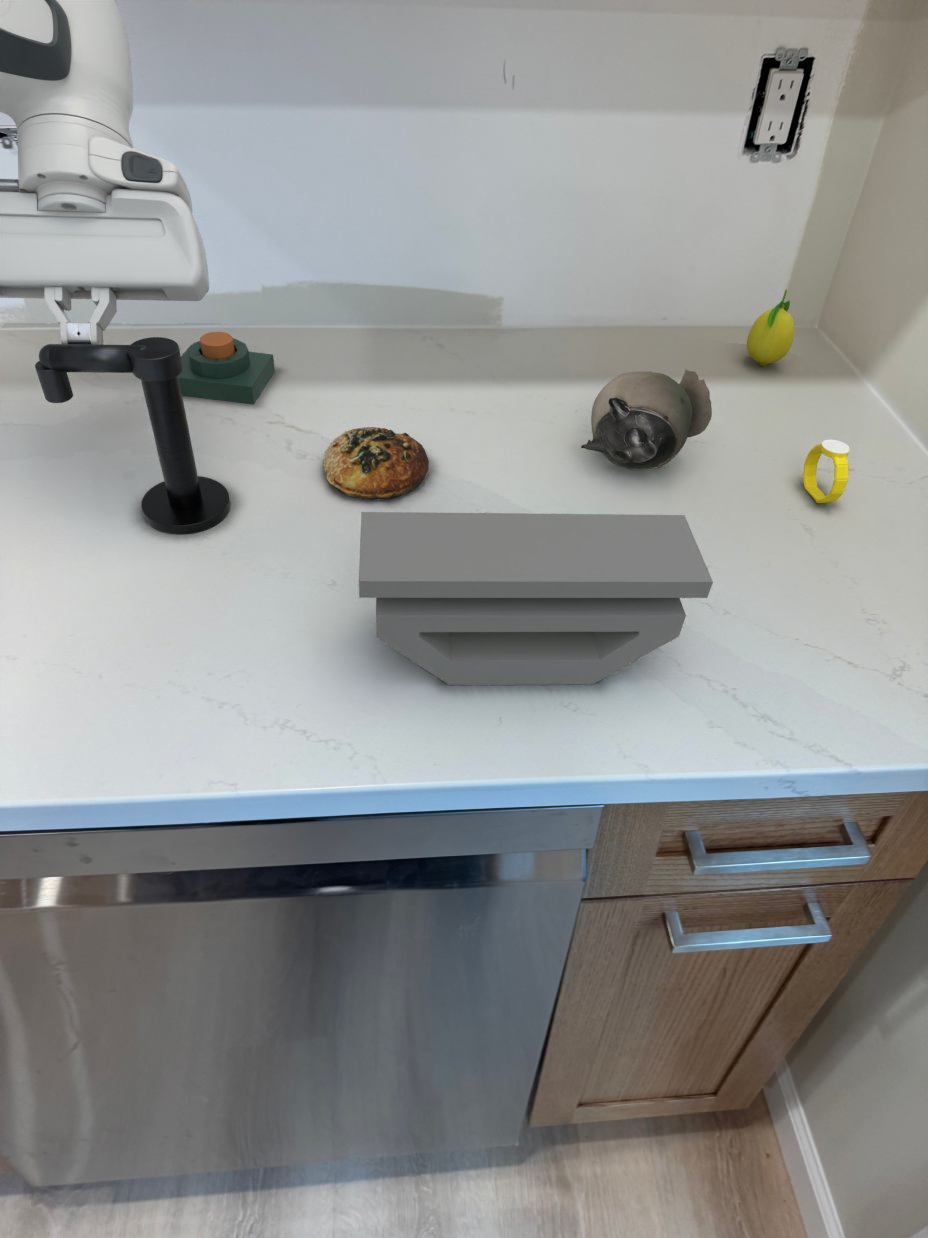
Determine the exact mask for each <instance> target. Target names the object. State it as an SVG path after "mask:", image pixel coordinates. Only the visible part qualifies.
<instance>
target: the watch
mask: <svg viewBox="0 0 928 1238" xmlns="http://www.w3.org/2000/svg"><path fill="white" fill-rule="evenodd" d="M850 451H851V449H850V446H849V445H848V444H847V443H845V442H843V441H841V440H838V439H824V440H822V442H821V443H820V444H819V443H818V444H816V445H814V446H813V448H811V449H810V451H808V453H807V455H806V458H805V460H804V464H803V469H802V481H803V487H804V489H805V490H806V492H807V493H808V494H809V495H810V496H811V497H812V499H814V501H815V503H817V504H830V503H834V502H836V501H838V500H839V498H840V497H841V496H842V495H843V494H844V492H845V490H846V487H847V484H848V481H849V468H850V467H849V462H848V459H847V457H848V456H849V455H850ZM822 455H824V456H826V457H828V458H830V459H832V461H833V465H834V474H833V477H834V478H833V482H832V485H831V489H830V491H829V492H828V493H827V495H825V493H824V492H823V491H822V490H821V489H820V488H819V486H818V480H817V469H818V463H819V461H820V458H821V457H822Z"/></svg>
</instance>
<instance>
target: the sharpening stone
mask: <svg viewBox="0 0 928 1238" xmlns="http://www.w3.org/2000/svg"><path fill="white" fill-rule="evenodd" d="M360 516H361V517H360V535H359V537H360V538H359V539H360V540H359V566H358V597H359V598H360V599H362V598H363V599H375V637H376V638H377V639H378V640H380V641H381V642H383V643H384V644H386V645H387V646H389V647H390V648H392V649H393V650H395V651H397V652H398V653H399V654H401V655H403V656H404V657H406V658H407V659H409V660H410V661H412V662H413V663H415V664H416V665H417V666H419V667H421V668H422V669H424V670H425V671H427V672H428V673H429V674H431V675H433V676H435V677H436V678H437V679H439V680H441V681H442V682H443V683H445V684H446V685H449V686H454V687H455V686H544V685H546V686H547V685H549V686H553V685H554V686H555V685H595V684H596V683H598V682H600V681H601V680H604V679H605V678H607V677H609V676H610V675H613V674H614V673H616V672H618V671H619V670H622V669H624V668H625V667H626V666H629V665H630V664H632V663H634V662H635V661H638V660H639V659H641V658H642V657H644V656H646V655H648V654H649V653H650V654H651V652H653V651H655V650H657V649H659V648H660V647H662V646H664V645H666V644H668V643H670V642H671V641H673V640H675V639H677V638H679V637H680V635H681V632H682V629H683V626H684V623H685V620H686V617H687V614H686V611H685V609H684V606H683V604H682V600H681V599H707V598H708V597H709V595H710V591H711V589H712V586H713V583H714V581H713V578H712V577H711V573H710V572H709V569H708V567H707V564H706V562H705V560H704V557H703V555H702V553H701V550H700V547H699V546H698V543H697V541H696V538H695V536H694V534H693V531H692V528H691V527H690V525H689V521H688V520H687V517H686V515H685V514H623V513H621V514H620V513H619V514H616V513H615V514H613V513H610V514H609V513H524V512H523V513H519V512H517V513H513V512H512V513H511V512H502V513H501V512H421V511H420V512H418V511H417V512H416V511H415V512H414V511H412V512H411V511H409V512H408V511H405V512H404V511H403V512H402V511H400V512H399V511H361V515H360Z"/></svg>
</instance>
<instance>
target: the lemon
mask: <svg viewBox="0 0 928 1238" xmlns="http://www.w3.org/2000/svg"><path fill="white" fill-rule="evenodd" d="M787 293H788V289H787V288H786V289H784V293H783V296H782V299H781V301H780V302H779V303H777V305H775V306H774V307H772V308H770V309H768V310H766V311H764V312H763V313H761V314H760V315H759V316H758V317H757V318H756V319H755V321H754V322H753V324H752V325H751V328H750V330H749V332H748V335H747V338H746V350H747V354H748V356H749V357H750V358H751V359H752V360H754V361H756V362H757V364H758V365H759V366H761V367H764V366H766V365H767V364H773V363H776V362H778V361H780V360H782V359H783V358H784V357H785V356H786V355H787V354H788V353H789V351H790V349H791V347H792V346H793V345H792V344H793V343H794V338H795V331H796V330H795V329H796V327H795V322H794V318H793V316H792V315H791V314H790V313H789V312H788V311H789V309H790V306H791V305H790V304H791V301H790V300H787V301H786V302H785V299H786V296H787Z"/></svg>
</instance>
